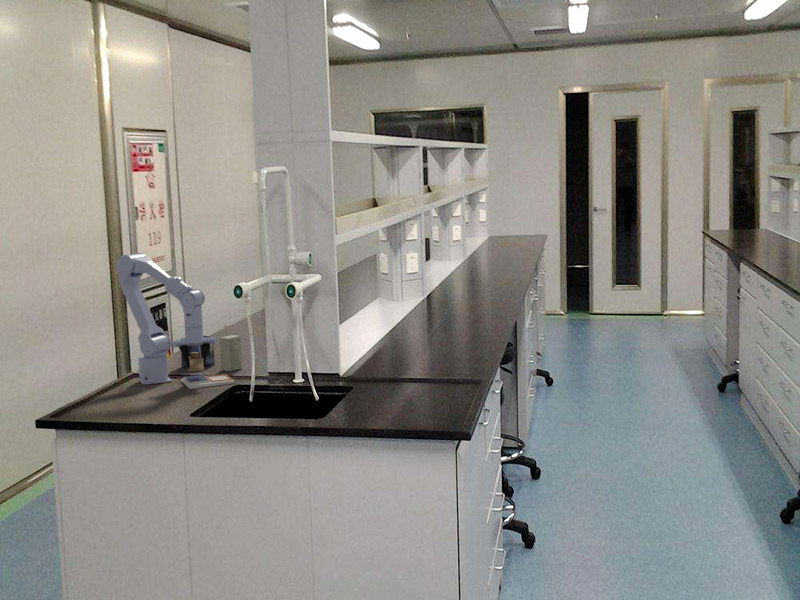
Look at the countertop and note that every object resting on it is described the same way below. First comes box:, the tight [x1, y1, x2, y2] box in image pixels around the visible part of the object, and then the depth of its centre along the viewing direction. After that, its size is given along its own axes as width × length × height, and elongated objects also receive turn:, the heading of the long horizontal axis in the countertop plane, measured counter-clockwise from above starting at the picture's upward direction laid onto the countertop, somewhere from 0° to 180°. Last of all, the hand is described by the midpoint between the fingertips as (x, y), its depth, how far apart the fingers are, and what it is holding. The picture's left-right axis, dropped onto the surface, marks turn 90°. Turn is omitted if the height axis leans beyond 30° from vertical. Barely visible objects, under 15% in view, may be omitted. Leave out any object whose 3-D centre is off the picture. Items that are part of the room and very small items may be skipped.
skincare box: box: [219, 334, 243, 372], centre depth 306 cm, size 6×4×12 cm
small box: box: [180, 335, 215, 370], centre depth 314 cm, size 11×6×10 cm, turn 129°
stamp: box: [187, 352, 205, 374], centre depth 285 cm, size 4×4×6 cm
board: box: [181, 373, 236, 390], centre depth 287 cm, size 15×12×2 cm
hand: (195, 366), depth 285 cm, fingers closed on stamp, 4 cm apart
